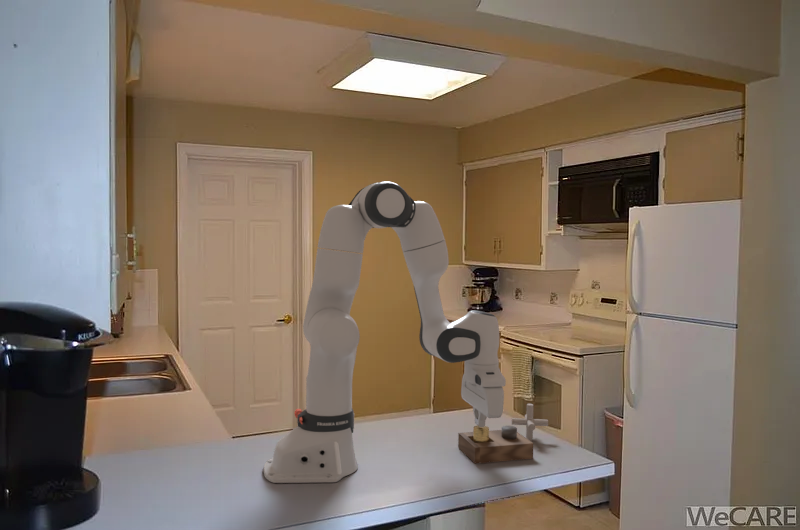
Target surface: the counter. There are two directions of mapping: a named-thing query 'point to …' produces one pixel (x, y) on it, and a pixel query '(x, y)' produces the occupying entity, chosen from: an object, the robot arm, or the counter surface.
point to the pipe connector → (529, 422)
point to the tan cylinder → (480, 434)
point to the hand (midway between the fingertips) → (479, 425)
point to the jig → (496, 446)
